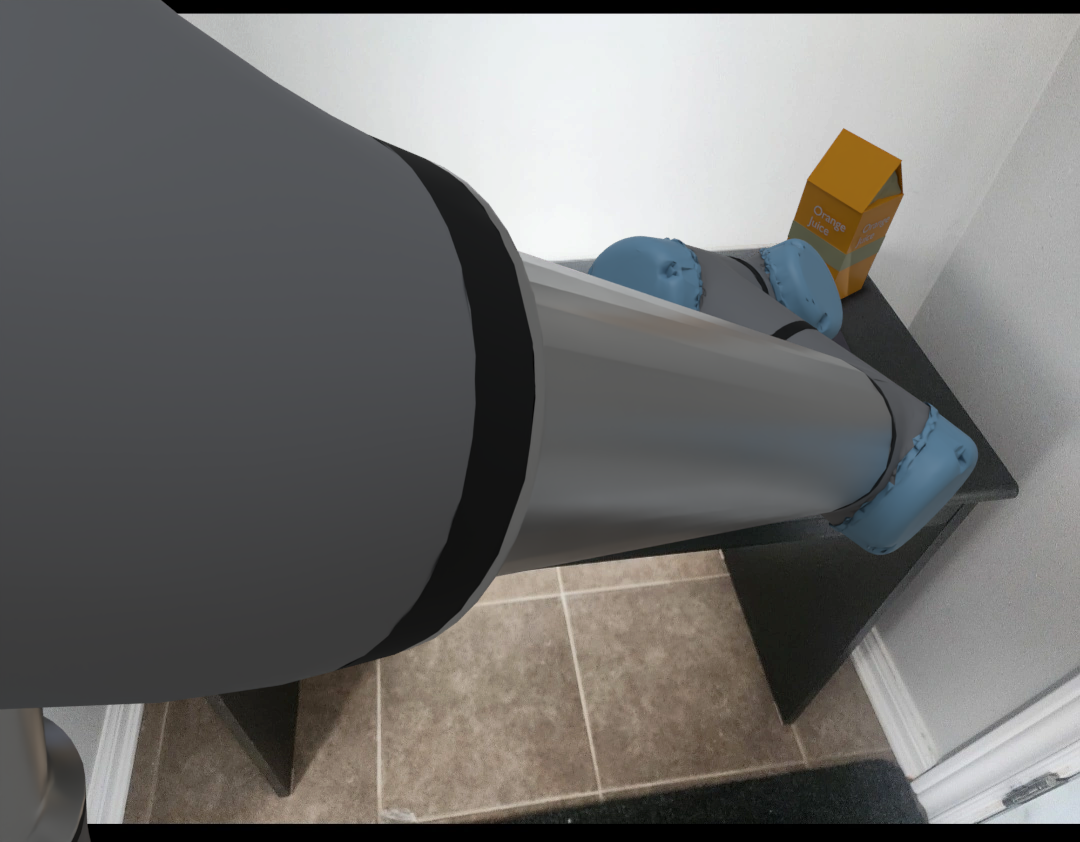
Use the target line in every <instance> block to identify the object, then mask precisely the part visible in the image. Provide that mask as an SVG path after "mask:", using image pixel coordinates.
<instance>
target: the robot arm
mask: <svg viewBox="0 0 1080 842" xmlns="http://www.w3.org/2000/svg"><path fill="white" fill-rule="evenodd" d="M843 313H844V312H843V304H842V299H840V296H839V293H838V290H837V287H836V284H835V282H834V279H833V277H832V275H831V273H830V271H829V269H828V267H827V265H826V264H825V262H824V260H823V259H822V257H821V256H820V255H819V253H818V252H817V251H816V250H815V249H814V248H813V247H812V246H811V245H810V244H808V243H807V242H805V241H803V240H800V239H795V238H794V239H788V240H787V239H786V240H784V241H783V240H782V241H781V242H778V243H777V244H773V245H772V246H770V247H762V248H759V250H758V252H757V253H755V254H753V255H751V256H750V257H747V258H745V259H743V258H740V257H737V256H732V255H725V254H720V253H717V252H715V251H710V250H707V249H703V248H700V247H696V246H693V245H689V244H686V243H685V242H683V241H682V240H680V239H679V238H675V237H674V238H671V239H670V237H667V236H666V237H664V238H661V237H654V236H653V237H652V236H646V235H635V236H628V237H625V238H621V239H619V240H618V241H615V242H613V243H612V244H610V245H608V247H606V248H605V249H604V250H603V251H602V252H600V254H598V256H597V257H596V258H595V259H594V261H593V262H592V264H591V265H590V267H589V268H588V271H587V273H585V272H582V271H579V270H576V269H573V268H570V267H568V266H565V265H561V264H559V263H557V262H553V261H550V260H547V259H544V258H541V257H538V256H535V255H532V254H530V253H526V252H523V251H519V250H518V249H517V247H516V245H515V243H514V241H513V239H512V236H511V234H510V232H509V231H508V229H507V227H506V226H505V224H504V223H503V221H502V220H501V218H500V217H499V216H498V214H497V213H496V211H495V210H494V209H493V207H492V206H491V205H490V203H489V202H488V201H487V200H486V199H485V198H484V197H483V196H482V195H481V194H480V193H479V192H478V191H477V190H475V189H474V187H473V186H472V185H471V184H469V183H468V182H467V180H464V179H463V178H461V177H460V176H458V175H457V174H456V173H454V172H453V171H451V170H449V169H448V168H446V167H445V166H442V165H441V164H438V163H436V162H434V161H432V160H430V159H428V158H425V157H423V156H420V155H418V154H416V153H414V152H411V151H409V150H407V149H404V148H402V147H400V146H397V145H394V144H392V143H390V142H387V141H384V140H382V139H380V138H378V137H375V136H373V135H370V134H368V133H367V132H364V131H362V130H360V129H358V128H356V127H355V126H352V125H351V124H349V123H347V122H345V121H343V120H341V119H339V118H337V117H335V116H333V115H332V114H330V113H328V112H327V111H325V110H323V109H321V108H320V107H318V106H316V105H315V104H313V103H312V102H311V101H308V100H306V99H305V98H304V97H302V96H301V95H298V94H297V93H295V92H294V91H292V90H290V89H289V88H287V87H286V86H284V85H283V84H280V83H278V82H277V81H275V80H274V79H273V78H271V77H270V76H268V75H267V74H265V73H263V72H262V71H261V70H259V69H258V68H257V67H256V66H254V65H252V64H250V63H249V62H247V60H245V59H244V58H242V57H241V56H239V55H238V54H236V53H235V52H233V51H232V50H231V49H229V48H228V47H226V46H225V45H223V44H222V43H220V42H219V41H218V40H216V39H215V38H213V37H212V36H210V35H209V34H207V33H206V32H204V31H203V30H202V29H200V28H198V27H197V26H196V25H195V24H193V23H192V22H190V21H189V20H187V19H186V18H184V17H183V16H182V15H180V14H178V13H177V12H176V11H175V10H174V9H172V7H170V6H169V5H167V4H166V3H165V2H164V1H163V0H0V842H92V841H91V837H90V832H89V827H88V808H87V807H88V805H87V804H88V803H87V784H86V783H87V781H86V773H85V767H84V762H83V760H82V758H81V755H80V753H79V751H78V749H77V748H76V746H75V744H74V742H73V740H72V738H70V737H69V735H68V734H67V733H66V732H65V730H64V729H63V728H62V727H60V726H59V725H58V724H57V723H56V722H54V721H53V720H51V719H49V718H48V717H46V716H45V715H44V709H45V708H46V709H47V708H66V707H67V708H69V707H91V706H92V707H93V706H116V705H117V706H118V705H134V704H135V705H139V704H140V705H141V704H142V705H143V704H160V703H168V702H176V701H181V700H182V701H184V700H189V699H196V698H202V697H203V698H204V697H209V696H210V697H211V696H216V695H223V694H230V693H236V692H244V691H251V690H257V689H264V688H271V687H276V686H282V685H286V684H290V683H294V682H298V681H301V680H305V679H309V678H313V677H318V676H321V675H324V674H328V673H329V674H330V673H333V672H336V671H340V670H343V669H347V668H351V667H355V666H359V665H362V664H366V663H370V662H374V661H377V660H381V659H384V658H387V657H392V656H395V655H398V654H400V653H402V652H406V651H409V650H411V649H414V648H416V647H418V646H421V645H423V644H425V643H428V642H430V641H432V640H435V639H436V638H438V637H439V636H440V635H441V634H443V633H445V632H446V631H447V630H448V629H450V628H451V627H453V626H454V625H456V624H458V622H459V621H460V620H461V619H462V618H463V617H464V616H465V615H466V614H467V613H468V612H469V611H470V610H471V609H472V608H473V607H474V606H475V605H476V604H477V603H478V602H479V600H480V599H481V598H482V596H483V595H484V594H485V593H486V591H487V590H488V589H489V587H490V585H492V583H493V581H494V580H495V579H496V577H501V576H507V575H512V574H513V575H514V574H516V573H522V572H523V573H524V572H526V571H533V570H538V569H542V568H549V567H554V566H559V565H563V564H569V563H575V562H580V561H585V560H591V559H595V558H600V557H605V556H610V555H615V554H622V553H626V552H630V551H636V550H641V549H646V548H652V547H657V546H662V545H668V544H673V543H677V542H683V541H689V540H693V539H698V538H703V537H709V536H713V535H719V534H724V533H730V532H735V531H740V530H744V529H750V528H755V527H761V526H766V525H770V524H776V523H780V522H787V521H790V520H791V521H792V520H796V519H801V518H802V519H803V518H805V517H806V518H807V517H812V516H817V515H821V516H822V517H823V518H824V519H825V520H826V521H828V526H829V527H830V528H831V529H832V530H833V531H834V532H837V533H841V534H843V535H844V537H847V538H848V539H849V540H850V541H852V542H853V543H854V544H856V545H857V546H859V547H860V548H861V549H863V550H864V551H866V552H868V553H870V554H872V555H877V556H883V555H888V554H890V553H893V552H895V551H896V550H898V549H900V548H901V547H902V546H904V545H905V544H906V543H907V542H908V541H910V540H911V539H912V538H913V537H914V536H915V535H917V534H918V533H919V532H920V531H921V530H922V529H923V528H924V527H926V525H927V524H928V523H929V522H930V521H931V520H932V519H933V518H934V517H935V516H936V515H937V514H938V513H939V512H940V511H941V510H942V509H943V508H944V507H945V506H946V504H948V502H949V501H950V500H951V499H952V498H953V497H954V496H955V494H957V492H958V491H959V490H960V489H961V487H962V486H963V485H964V483H965V482H966V481H967V480H968V478H969V477H970V476H971V474H972V473H973V471H974V470H975V468H976V466H977V462H978V460H979V452H978V451H979V450H978V446H977V445H976V443H975V441H974V440H973V439H972V438H971V437H970V436H969V435H968V434H966V433H965V432H964V431H963V430H961V429H960V428H959V427H957V426H956V425H955V424H953V423H952V422H950V420H948V419H947V418H945V417H944V416H942V415H941V414H940V413H939V410H938V408H936V407H935V406H934V405H932V404H931V403H929V402H928V401H921V400H920V399H918V397H915V396H914V395H913V394H911V393H910V392H908V390H906V389H904V388H903V387H901V386H900V385H899V384H897V383H895V382H894V381H893V380H891V379H890V378H889V377H887V376H885V375H884V374H883V373H881V372H880V371H878V370H877V369H876V368H874V367H873V366H871V365H870V364H869V363H867V362H866V361H863V360H862V359H861V358H859V357H858V356H857V355H855V354H854V353H853V352H852V353H850V352H849V351H847V350H846V349H844V348H843V347H841V346H840V345H838V344H837V343H835V342H834V341H832V340H831V339H833V338H834V337H835V336H836V335H837V334H838V332H839V330H841V328H842V325H843V319H844V314H843Z"/></svg>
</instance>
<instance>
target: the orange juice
mask: <svg viewBox="0 0 1080 842" xmlns="http://www.w3.org/2000/svg"><path fill="white" fill-rule="evenodd" d="M902 162H903V159H901V158H899V157H897V156H895V155H893V154H892V153H890V152H888V151H887V150H884V149H883V148H881V147H880V146H878V145H876V144H873V143H872V142H869V141H868V140H866V139H864V138H863V137H861V136H859V135H858V134H855V133H853V132H851V131H850V130H848V129H846V128H844V127H843V128H842V130H840V132H839V133H838V135H837V136H836V138H835V139H834V140H833V142H832V144H831V145H830V146H829V147H828V149H827V150H826V151H825V154H824V155H822V158H821V159H819V162H818V163H817V164H816V165H815V167H814V169H813V170H812V172H810V175H809V176H808V177H807V179H806V182H805V185H804V187H803V190H802V193H801V197H800V199H799V202H798V206H797V209H796V212H795V214H794V218H793V220H792V222H791V224H790V228H789V231H788V233H787V238H786V240H788V239H794V238H795V239H800V240H803V241H805V242H807V243H808V244H810V245H811V246H812V247H813V248H814V249H815V250H816V251H817V252H818V253H819V255H820V256H821V257H822V259H823V260H824V262H825V264H826V265H827V267H828V269H829V271H830V273H831V275H832V277H833V279H834V282H835V284H836V287H837V290H838V293H839V296H840V299H841V300H842V299H844V298H846V297H848V296H851V295H852V294H854V293H857V292H858V291H860V290H862V288H863V286H864V284H865V281H866V279H867V277H868V275H869V272H870V270H871V268H872V266H873V264H874V261H875V259H876V258H877V255H878V253H879V252H880V249H881V247H882V245H883V243H884V240H885V238H886V236H887V233H888V231H889V230H890V227H891V224H892V222H893V220H894V218H895V216H896V213H897V212H898V209H899V206H900V205H901V202H902V200H903V198H904V195H905V193H904V183H903V168H902V167H903V166H902Z"/></svg>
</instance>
